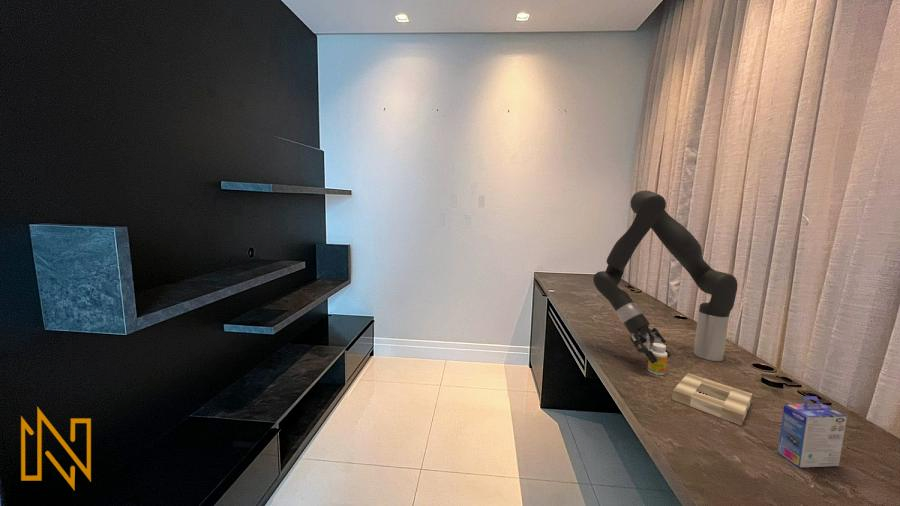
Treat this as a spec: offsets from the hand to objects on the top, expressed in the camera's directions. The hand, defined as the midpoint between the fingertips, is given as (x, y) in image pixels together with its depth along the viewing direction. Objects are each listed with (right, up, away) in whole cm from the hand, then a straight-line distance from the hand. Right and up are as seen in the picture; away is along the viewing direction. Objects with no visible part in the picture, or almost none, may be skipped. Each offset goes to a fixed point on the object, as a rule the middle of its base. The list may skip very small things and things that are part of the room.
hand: (661, 359), depth 117 cm
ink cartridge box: (+9, -11, -38) cm, 41 cm away
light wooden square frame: (+5, -7, -16) cm, 18 cm away
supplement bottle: (-1, -5, +2) cm, 5 cm away
